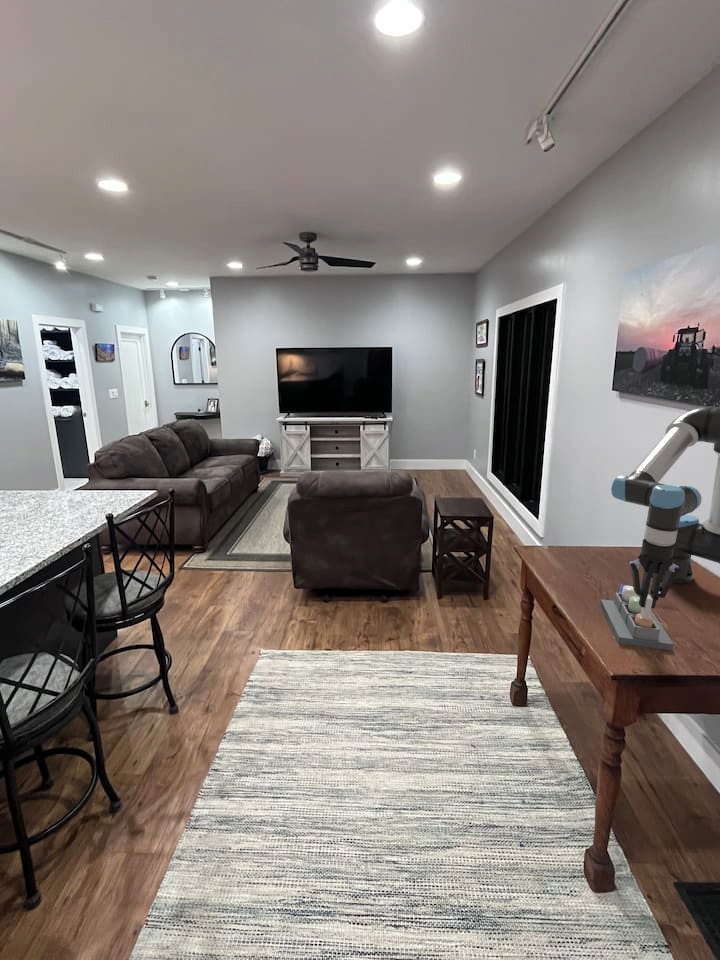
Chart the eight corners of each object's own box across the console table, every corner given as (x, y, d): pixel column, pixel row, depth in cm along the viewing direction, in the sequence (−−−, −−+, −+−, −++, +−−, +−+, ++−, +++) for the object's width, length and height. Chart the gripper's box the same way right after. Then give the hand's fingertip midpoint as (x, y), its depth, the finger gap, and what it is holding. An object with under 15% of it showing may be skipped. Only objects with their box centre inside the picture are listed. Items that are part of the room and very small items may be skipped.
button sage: (641, 609, 147) (643, 597, 146) (646, 616, 142) (648, 604, 141) (625, 607, 148) (627, 595, 146) (630, 614, 143) (632, 602, 142)
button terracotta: (648, 626, 141) (650, 614, 139) (653, 635, 136) (655, 622, 135) (631, 624, 141) (633, 612, 140) (636, 632, 137) (638, 620, 136)
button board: (646, 610, 155) (649, 595, 154) (672, 650, 134) (676, 633, 133) (599, 604, 158) (602, 589, 157) (618, 643, 138) (621, 626, 136)
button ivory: (634, 597, 153) (636, 586, 152) (638, 604, 149) (640, 593, 148) (619, 596, 154) (621, 585, 153) (623, 603, 150) (625, 591, 149)
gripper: (680, 538, 134) (664, 613, 140) (628, 533, 136) (616, 607, 143) (691, 548, 127) (674, 627, 133) (637, 544, 129) (623, 620, 136)
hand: (644, 616), depth 138 cm, fingers closed
